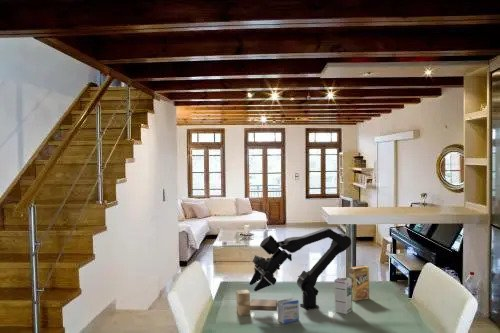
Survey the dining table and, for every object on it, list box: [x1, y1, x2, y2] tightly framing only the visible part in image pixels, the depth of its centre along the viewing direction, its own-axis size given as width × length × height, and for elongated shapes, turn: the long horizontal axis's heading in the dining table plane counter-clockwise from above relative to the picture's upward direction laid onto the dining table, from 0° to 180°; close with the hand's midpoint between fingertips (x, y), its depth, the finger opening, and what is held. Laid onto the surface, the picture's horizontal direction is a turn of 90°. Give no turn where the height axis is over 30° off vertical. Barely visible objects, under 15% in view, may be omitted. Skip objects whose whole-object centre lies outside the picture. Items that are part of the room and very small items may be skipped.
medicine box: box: [277, 297, 300, 325], centre depth 184 cm, size 8×4×9 cm, turn 117°
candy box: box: [348, 264, 370, 302], centre depth 210 cm, size 9×4×15 cm, turn 113°
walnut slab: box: [250, 298, 278, 310], centre depth 202 cm, size 12×9×2 cm
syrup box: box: [333, 276, 353, 315], centre depth 193 cm, size 6×6×14 cm
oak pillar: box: [235, 289, 251, 316], centre depth 194 cm, size 5×5×10 cm
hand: (252, 287), depth 194 cm, fingers open, 9 cm apart
